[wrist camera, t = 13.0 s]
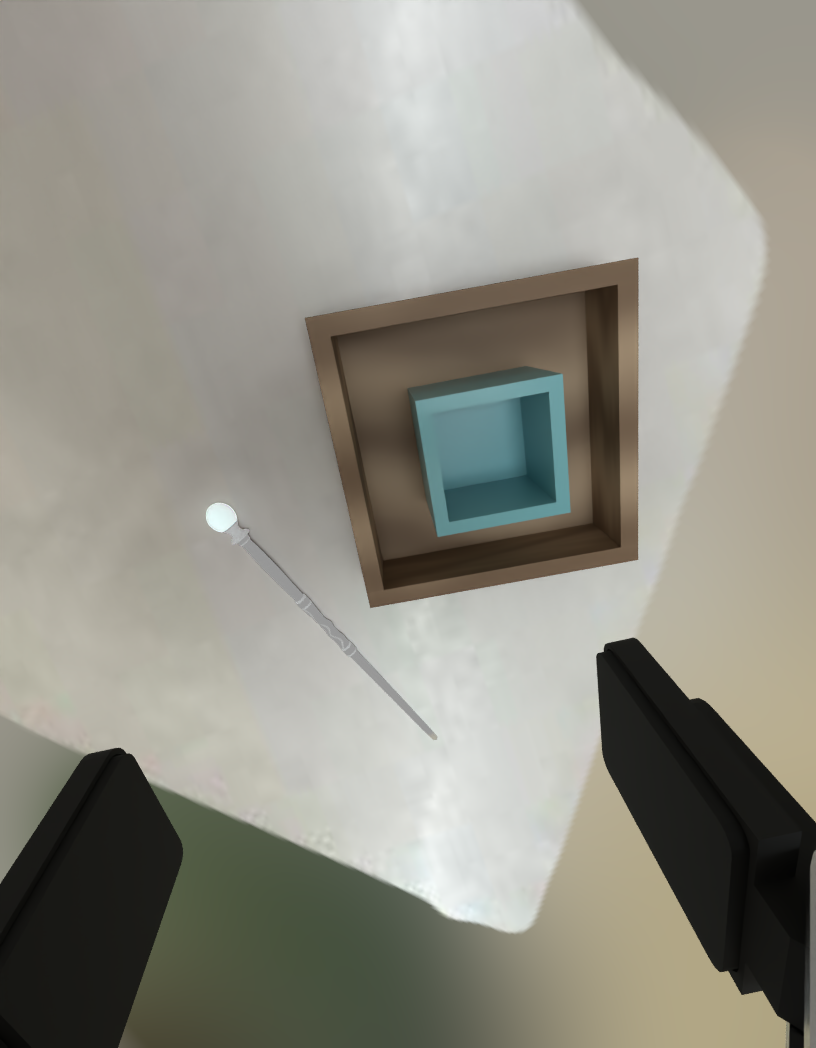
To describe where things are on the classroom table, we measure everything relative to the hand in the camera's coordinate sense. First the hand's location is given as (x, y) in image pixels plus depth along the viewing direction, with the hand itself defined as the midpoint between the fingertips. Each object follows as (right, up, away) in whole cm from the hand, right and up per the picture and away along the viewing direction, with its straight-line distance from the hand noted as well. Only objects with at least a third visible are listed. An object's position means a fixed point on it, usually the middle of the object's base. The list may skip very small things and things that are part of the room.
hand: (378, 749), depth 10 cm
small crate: (+5, +10, +20) cm, 23 cm away
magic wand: (-4, -3, +26) cm, 27 cm away
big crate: (+5, +10, +21) cm, 24 cm away
